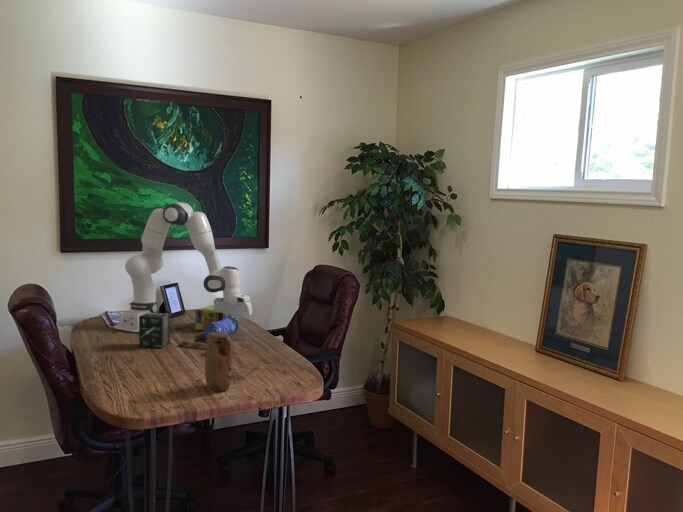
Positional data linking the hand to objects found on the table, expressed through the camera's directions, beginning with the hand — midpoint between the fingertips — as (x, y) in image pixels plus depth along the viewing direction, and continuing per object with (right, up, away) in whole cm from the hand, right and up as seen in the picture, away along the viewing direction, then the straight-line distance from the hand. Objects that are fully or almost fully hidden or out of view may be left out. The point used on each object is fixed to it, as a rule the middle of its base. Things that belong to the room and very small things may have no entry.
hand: (233, 324), depth 287 cm
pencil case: (-4, -6, -10) cm, 13 cm away
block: (+11, -13, -82) cm, 84 cm away
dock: (-7, -6, -17) cm, 19 cm away
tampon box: (-31, -6, -30) cm, 43 cm away
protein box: (-9, +3, +15) cm, 18 cm away
